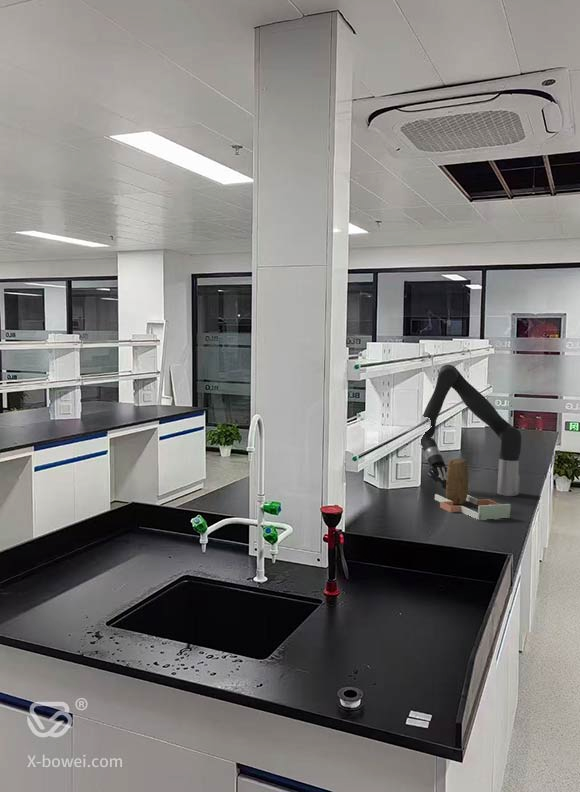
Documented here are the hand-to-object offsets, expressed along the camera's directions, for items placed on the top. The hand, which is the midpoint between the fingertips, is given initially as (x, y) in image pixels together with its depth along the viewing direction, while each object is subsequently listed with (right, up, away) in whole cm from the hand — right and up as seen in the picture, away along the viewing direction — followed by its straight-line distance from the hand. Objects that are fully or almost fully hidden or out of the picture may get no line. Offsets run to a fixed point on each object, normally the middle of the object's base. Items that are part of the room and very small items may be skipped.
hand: (446, 488), depth 317 cm
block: (+3, -5, -9) cm, 11 cm away
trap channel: (+6, -6, -19) cm, 21 cm away
